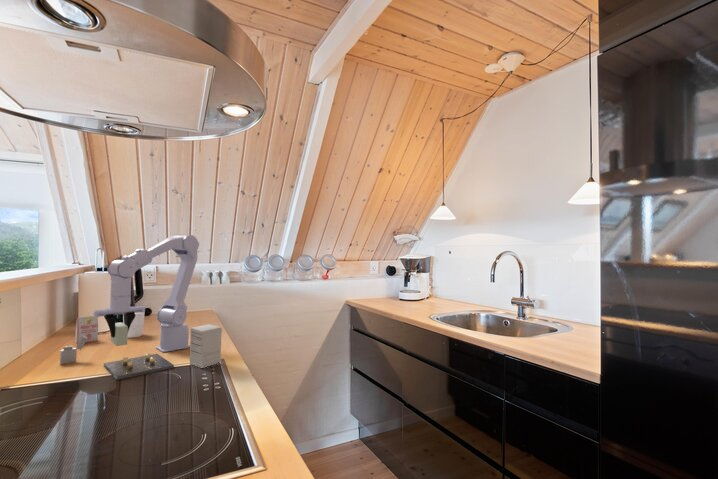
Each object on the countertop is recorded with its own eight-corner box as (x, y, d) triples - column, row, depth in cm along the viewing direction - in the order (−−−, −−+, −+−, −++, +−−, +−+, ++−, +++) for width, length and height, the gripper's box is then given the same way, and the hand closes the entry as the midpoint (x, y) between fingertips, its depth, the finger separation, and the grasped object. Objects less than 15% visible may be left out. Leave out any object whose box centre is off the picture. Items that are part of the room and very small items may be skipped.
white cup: (127, 339, 152) (128, 315, 152) (118, 336, 156) (119, 312, 156) (147, 335, 158) (148, 312, 158) (138, 332, 163) (139, 310, 163)
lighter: (60, 364, 120) (61, 339, 120) (59, 362, 121) (60, 338, 121) (87, 359, 125) (88, 336, 125) (86, 358, 126) (87, 335, 126)
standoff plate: (156, 356, 131) (157, 348, 131) (173, 367, 120) (174, 358, 120) (103, 366, 119) (103, 357, 119) (116, 380, 108) (117, 369, 108)
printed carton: (75, 341, 146) (76, 316, 146) (95, 338, 151) (96, 314, 151) (76, 343, 143) (77, 318, 143) (97, 340, 148) (98, 316, 148)
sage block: (120, 339, 127) (121, 322, 127) (127, 344, 122) (127, 326, 122) (110, 341, 125) (111, 323, 125) (116, 346, 120) (117, 327, 120)
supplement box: (208, 359, 130) (209, 323, 130) (221, 364, 125) (222, 327, 125) (188, 364, 124) (190, 327, 124) (201, 369, 119) (202, 330, 119)
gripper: (141, 292, 131) (139, 330, 131) (92, 295, 121) (90, 336, 121) (147, 294, 127) (145, 334, 126) (96, 298, 116) (95, 341, 116)
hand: (119, 335), depth 123 cm, fingers closed on sage block, 3 cm apart
